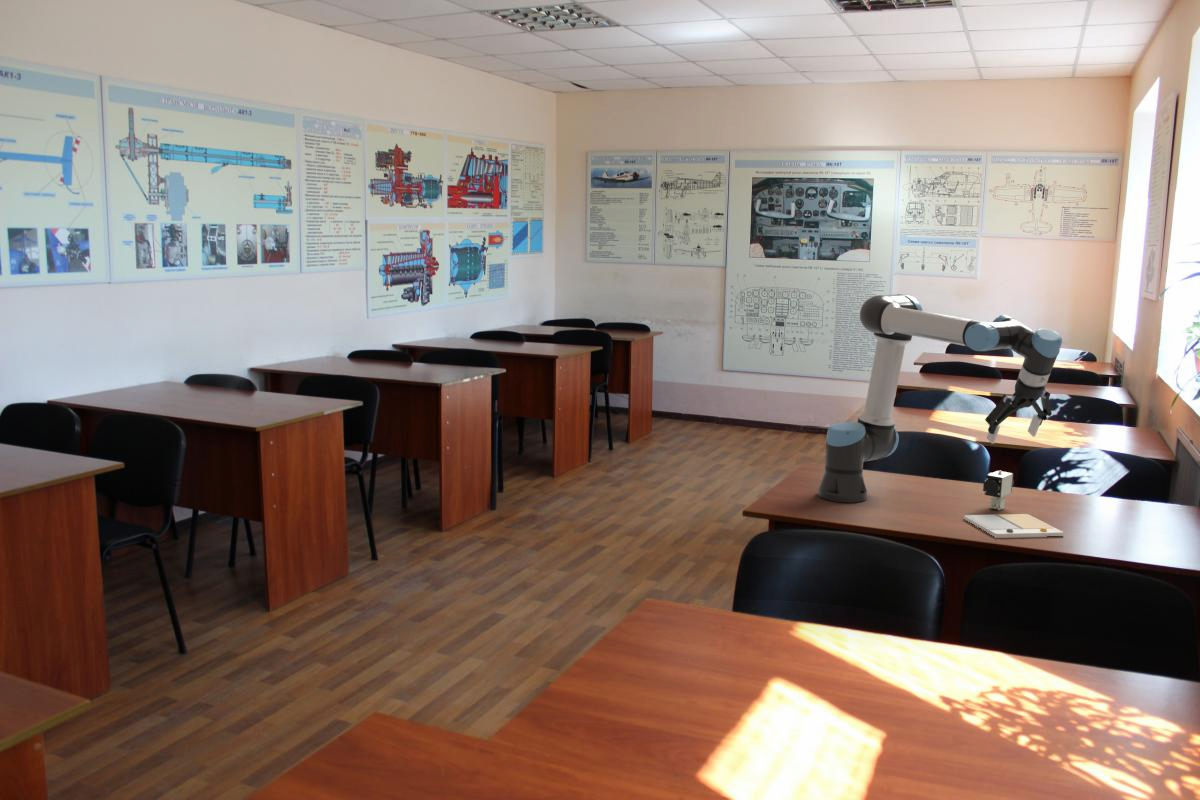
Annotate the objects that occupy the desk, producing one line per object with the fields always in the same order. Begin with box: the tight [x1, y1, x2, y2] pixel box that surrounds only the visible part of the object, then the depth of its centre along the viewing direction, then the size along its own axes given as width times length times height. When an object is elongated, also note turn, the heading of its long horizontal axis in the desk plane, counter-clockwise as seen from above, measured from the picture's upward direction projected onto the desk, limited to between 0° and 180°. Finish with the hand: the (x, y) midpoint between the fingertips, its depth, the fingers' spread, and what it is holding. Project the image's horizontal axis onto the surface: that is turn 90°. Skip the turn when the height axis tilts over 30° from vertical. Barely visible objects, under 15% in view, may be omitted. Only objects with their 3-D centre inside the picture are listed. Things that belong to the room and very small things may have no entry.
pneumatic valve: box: [982, 470, 1015, 511], centre depth 292 cm, size 6×12×12 cm, turn 135°
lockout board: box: [963, 513, 1065, 539], centre depth 272 cm, size 18×20×2 cm
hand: (1010, 437), depth 280 cm, fingers open, 13 cm apart
